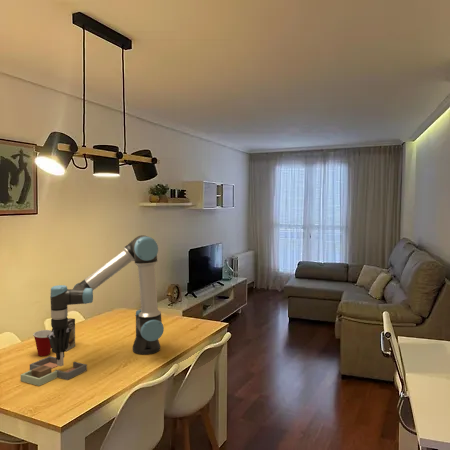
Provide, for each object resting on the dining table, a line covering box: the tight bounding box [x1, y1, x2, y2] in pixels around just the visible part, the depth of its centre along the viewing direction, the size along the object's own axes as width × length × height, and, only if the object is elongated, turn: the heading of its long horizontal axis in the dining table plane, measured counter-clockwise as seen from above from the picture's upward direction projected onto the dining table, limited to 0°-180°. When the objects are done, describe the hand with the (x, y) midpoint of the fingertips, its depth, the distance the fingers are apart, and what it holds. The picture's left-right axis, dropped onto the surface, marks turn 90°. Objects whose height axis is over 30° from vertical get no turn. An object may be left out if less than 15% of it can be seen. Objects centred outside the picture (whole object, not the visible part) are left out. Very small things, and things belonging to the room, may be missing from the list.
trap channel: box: [20, 355, 88, 387], centre depth 188 cm, size 25×22×3 cm
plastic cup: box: [32, 329, 52, 357], centre depth 213 cm, size 11×11×12 cm
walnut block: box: [31, 365, 53, 378], centre depth 185 cm, size 6×6×4 cm
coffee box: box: [66, 317, 76, 352], centre depth 223 cm, size 9×6×16 cm
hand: (60, 365), depth 194 cm, fingers closed
